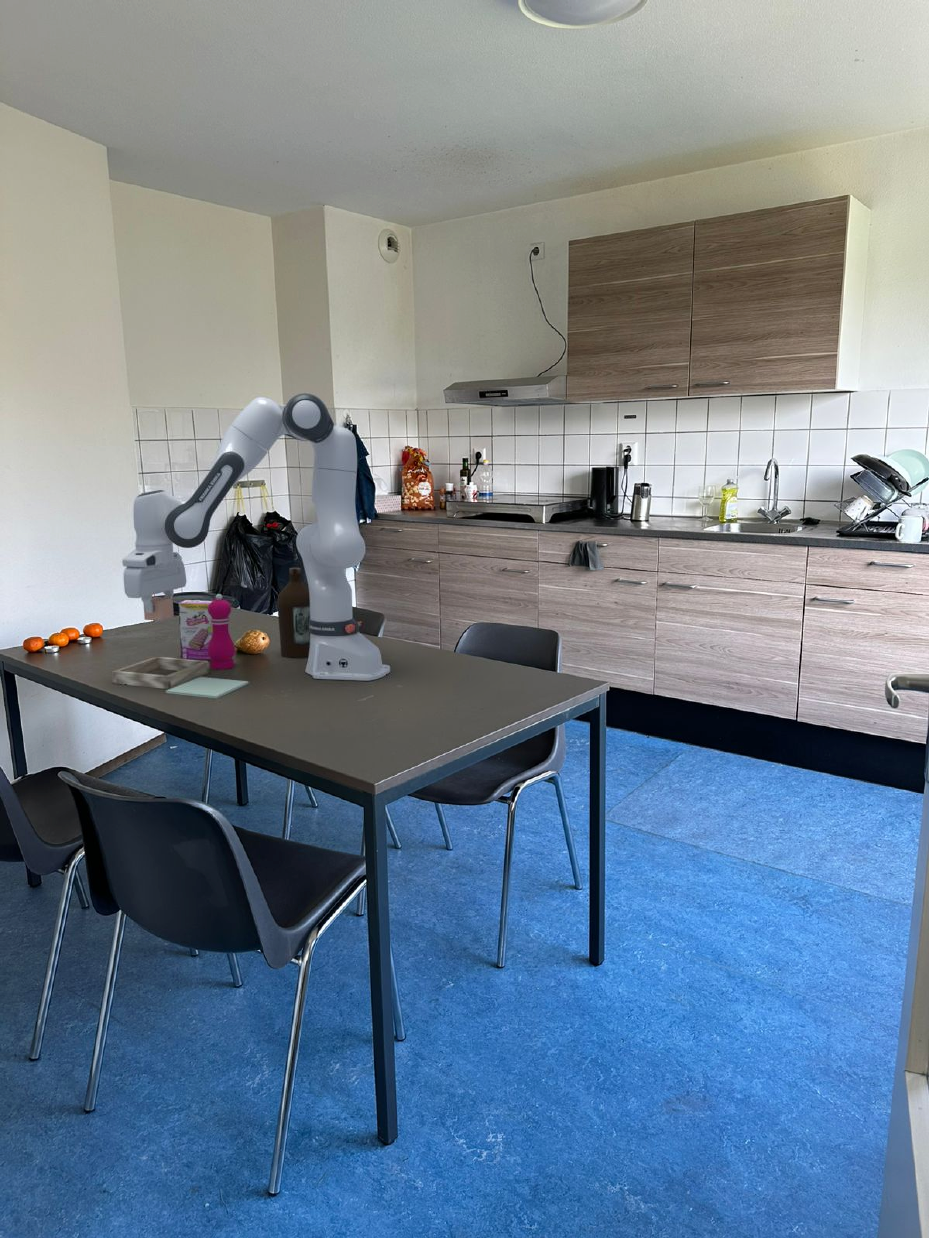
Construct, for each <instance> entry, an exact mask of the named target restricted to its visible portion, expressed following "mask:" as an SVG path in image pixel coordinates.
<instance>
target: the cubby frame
mask: <svg viewBox="0 0 929 1238" xmlns="http://www.w3.org/2000/svg"><path fill="white" fill-rule="evenodd" d="M155 670H168V671H175V672H172V673H169V674H167V675H164V674H152V673H149V672H153V671H155ZM209 673H210V661H200V660H189V659H181V658H179V657H178V658H175V657H168V656H167V657H164V656H154V657H151V658H148V659H145V660H142V661H139V662H136V663H133V664H131V665H130V664H129V665H127V666H124V667H122V668H119V669H115V670H113V671H111V679H112V680H111V682H112V684H117V685H124V684H127V686H135V687H145V688H154V689H163V690H164V689H165V690H169V689H172V688H174V687H176V686H179V685H181V684H184V683H186V682H189V681H191V680H194V679H196V678H199V677H203V676H204V675H206V674H209Z"/></svg>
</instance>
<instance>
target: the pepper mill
mask: <svg viewBox="0 0 929 1238" xmlns="http://www.w3.org/2000/svg"><path fill="white" fill-rule="evenodd" d="M211 601H212V602H211V603H210V604H209V606H208V613H209V615H210V616H211V617H212V618H211V619H210V620H211V622H210V623H211V624H212V627H213V633H212V637H211V640H210V643H209V646H208V655H209V657H210V658H211V659H212V660H211V661H209V669H211V670H216V671H217V670H229V669H232V668H234V667H235V660H234V659H233V657H234V656H235V654H236V647H235V644H234V642H233V641H234V640H233V639H232V637H231V635H230V632H229V624H230V623H231V622H230V617H229V616H230V614H231V612H232V606H231V604H230V603H229V602H228V601H227V600H225V599H223V595H222V594H221V593H217V594H216V595H215V600H211Z"/></svg>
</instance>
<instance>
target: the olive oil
mask: <svg viewBox="0 0 929 1238" xmlns="http://www.w3.org/2000/svg"><path fill="white" fill-rule="evenodd" d="M301 571H302V568H300V567H290V568H289V574H288V575H289V581H288V583H287V584H286V585H285V586H284V588H283V589H282V590H281V591H280V592H279V593H278V596H277V601H276V605H277V617H278V629H279V643H280V655H281V656H282V657H284V658H285V657H286V658H292V659H294V658H295V659H299V658H307V657H309V649H310V638H309V619H310V596H309V587H307V585H305V584H304V582H303V581H302V572H301Z"/></svg>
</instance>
